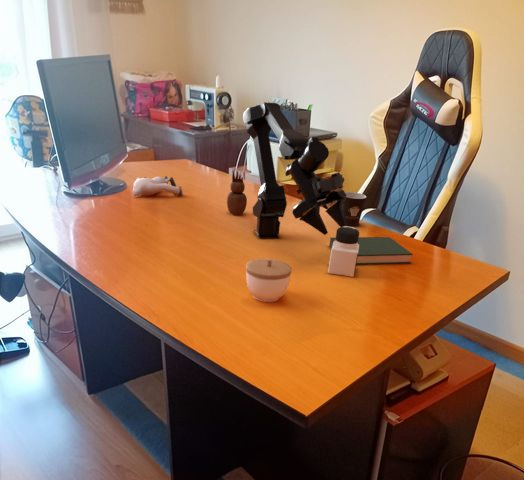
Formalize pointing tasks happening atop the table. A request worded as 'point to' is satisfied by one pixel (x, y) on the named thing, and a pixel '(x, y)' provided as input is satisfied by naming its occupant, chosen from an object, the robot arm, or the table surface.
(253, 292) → the trinket box
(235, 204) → the wooden figurine
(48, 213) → the table surface
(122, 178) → the table surface
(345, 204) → the coffee mug
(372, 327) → the table surface
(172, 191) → the yeti figurine
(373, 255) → the book
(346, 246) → the medicine bottle
